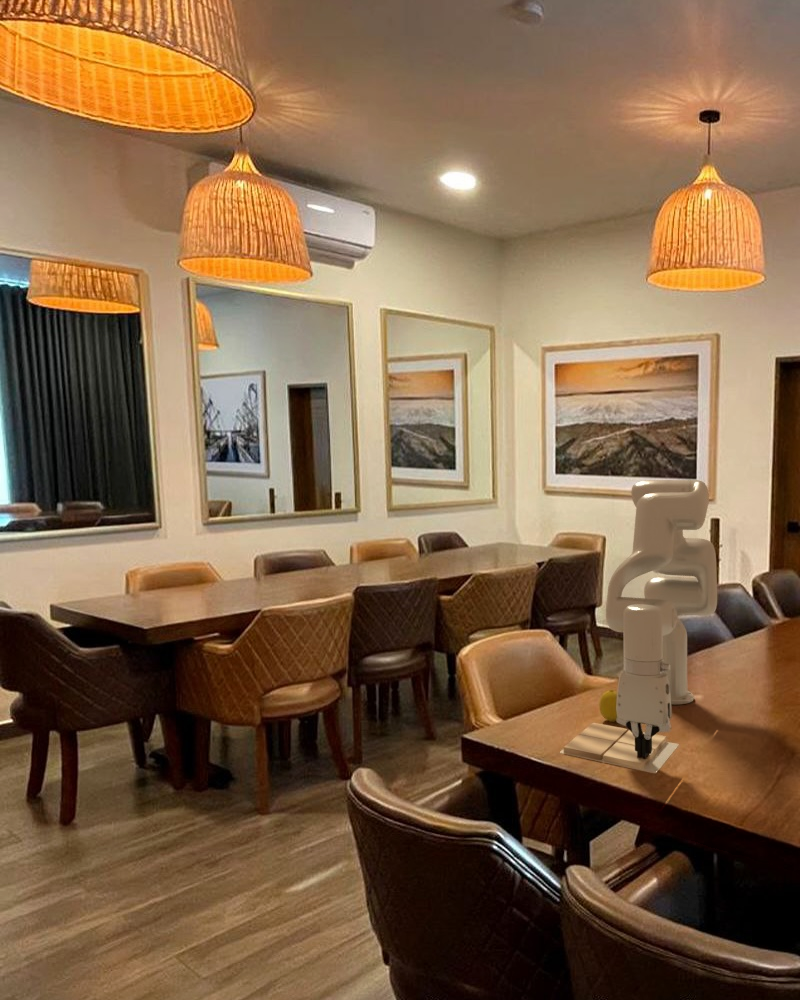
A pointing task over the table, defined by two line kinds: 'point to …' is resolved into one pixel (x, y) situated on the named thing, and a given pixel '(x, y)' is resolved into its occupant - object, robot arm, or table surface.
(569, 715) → the table surface
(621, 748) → the plank near
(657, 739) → the plank far
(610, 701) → the lemon
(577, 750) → the row
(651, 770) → the underlay mat
